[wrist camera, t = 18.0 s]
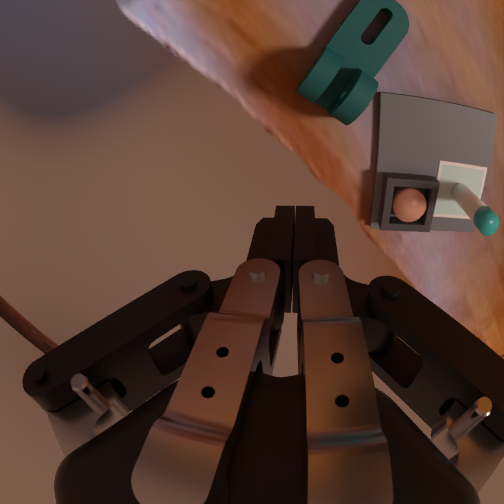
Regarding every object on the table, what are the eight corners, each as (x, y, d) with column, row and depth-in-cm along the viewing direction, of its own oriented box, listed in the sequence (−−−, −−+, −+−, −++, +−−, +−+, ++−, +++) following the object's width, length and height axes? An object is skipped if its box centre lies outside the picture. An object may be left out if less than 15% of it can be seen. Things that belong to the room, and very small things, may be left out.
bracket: (340, 117, 35) (348, 130, 29) (296, 88, 34) (295, 95, 28) (412, 20, 25) (436, 13, 18) (368, -12, 23) (384, -27, 17)
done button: (392, 183, 38) (396, 189, 36) (424, 185, 37) (429, 191, 35) (388, 214, 41) (391, 221, 39) (418, 215, 40) (422, 222, 38)
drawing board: (379, 92, 32) (385, 94, 29) (494, 113, 28) (505, 118, 26) (369, 225, 43) (373, 235, 41) (471, 229, 40) (478, 239, 38)
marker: (453, 180, 35) (485, 211, 27) (470, 184, 35) (502, 215, 27) (448, 199, 37) (476, 233, 29) (464, 203, 37) (493, 237, 29)
